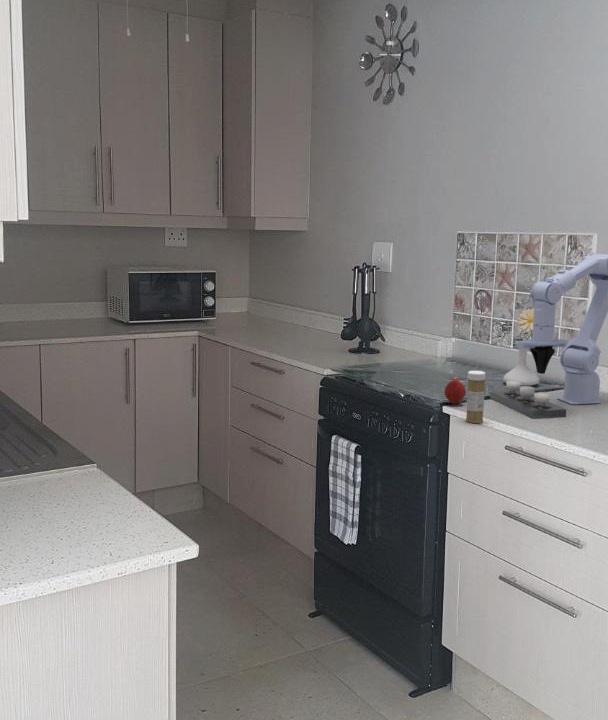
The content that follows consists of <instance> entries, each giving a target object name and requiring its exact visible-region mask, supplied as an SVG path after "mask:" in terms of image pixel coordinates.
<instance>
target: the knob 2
mask: <svg viewBox="0 0 608 720" xmlns="http://www.w3.org/2000/svg"><path fill="white" fill-rule="evenodd" d="M550 395H551V394H550V393H548V392H542V391H541V392H540V391H538V392H534V402H536V403H538V406H539V407H545V403H549V402H550Z"/></svg>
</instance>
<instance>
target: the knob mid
mask: <svg viewBox="0 0 608 720" xmlns="http://www.w3.org/2000/svg"><path fill="white" fill-rule="evenodd" d="M535 392H536V390H535V387H533V386H520V396H523V400H530V397H533V396H534V395H535Z"/></svg>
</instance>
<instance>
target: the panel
mask: <svg viewBox="0 0 608 720" xmlns="http://www.w3.org/2000/svg"><path fill="white" fill-rule="evenodd" d="M509 391H510V390H491V391H489V398H490V399H491V400H493V401H495V402H498V403H499V404H502V405H503V406H506V407H508V408H510V409H512V410H515V411H516V412H519V413H520V414H523V415H524V416H527V417H529V418H531V419H545V418H546V419H549V418H550V419H551V418H564V417H567V409H566V408H564V407H561V406H559V405H557V404H554V403H552V402H550V401H549V403H545V407H539V406H538V403H536V402H534V396H533V397H530V400H523V396H520V390H519V391H517V392H516V394H510V393H509Z"/></svg>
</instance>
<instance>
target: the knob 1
mask: <svg viewBox="0 0 608 720" xmlns="http://www.w3.org/2000/svg"><path fill="white" fill-rule="evenodd" d="M505 383H506V384H505V385H506V386H505V387H506V388H505V389H506V391H509V390H510V391H509V393H510V394H516V392H517V391H519V390H520V387H521V386H520V384H521V382H519V381H507V382H505Z"/></svg>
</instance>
